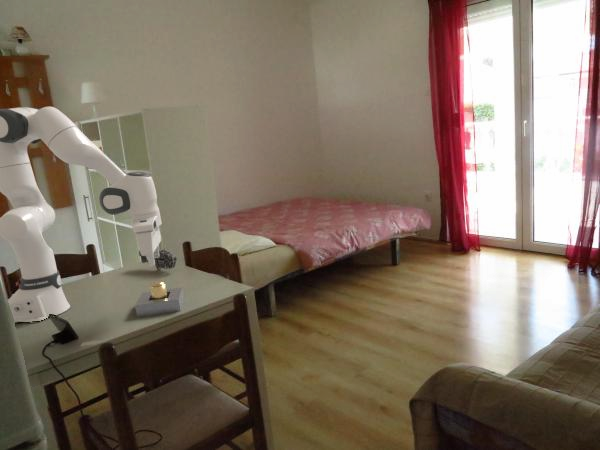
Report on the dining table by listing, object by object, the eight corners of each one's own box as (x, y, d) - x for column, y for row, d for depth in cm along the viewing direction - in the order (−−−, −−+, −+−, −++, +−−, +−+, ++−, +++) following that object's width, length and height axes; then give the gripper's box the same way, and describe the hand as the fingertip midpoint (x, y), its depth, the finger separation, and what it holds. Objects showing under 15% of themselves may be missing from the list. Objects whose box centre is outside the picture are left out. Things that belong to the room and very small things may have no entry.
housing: (137, 319, 155) (135, 305, 154) (144, 306, 167) (141, 292, 166) (181, 313, 157) (178, 299, 156) (184, 300, 169) (182, 287, 168)
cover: (152, 310, 159) (148, 286, 157) (155, 305, 164) (151, 281, 162) (168, 308, 160) (164, 284, 158) (169, 303, 165) (166, 279, 163)
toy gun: (145, 266, 217) (142, 245, 215) (180, 271, 204) (176, 249, 201) (139, 268, 215) (136, 247, 213) (174, 274, 201) (170, 251, 199)
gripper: (143, 216, 165) (150, 254, 168) (131, 229, 145) (139, 271, 148) (161, 214, 166) (168, 252, 169) (152, 226, 146) (159, 268, 149)
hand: (154, 261), depth 158 cm, fingers open, 8 cm apart
